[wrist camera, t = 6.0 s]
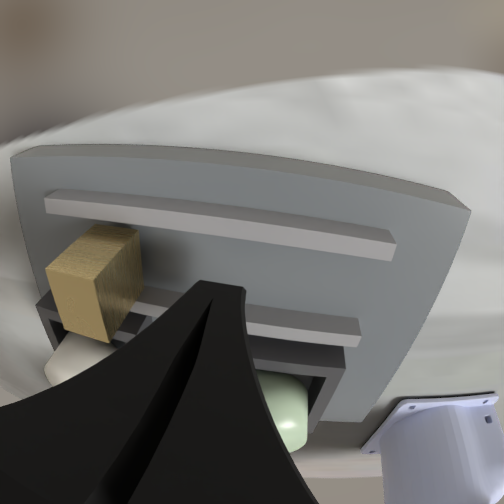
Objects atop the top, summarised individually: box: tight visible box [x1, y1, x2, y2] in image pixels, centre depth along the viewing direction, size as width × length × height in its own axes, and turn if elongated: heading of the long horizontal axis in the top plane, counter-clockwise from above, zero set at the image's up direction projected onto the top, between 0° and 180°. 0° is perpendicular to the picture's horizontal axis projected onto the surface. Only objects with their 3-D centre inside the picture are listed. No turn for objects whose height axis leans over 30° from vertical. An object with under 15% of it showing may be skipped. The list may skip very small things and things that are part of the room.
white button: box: [44, 331, 118, 387], centre depth 12 cm, size 4×4×2 cm
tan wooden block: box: [45, 224, 144, 343], centre depth 9 cm, size 2×2×3 cm
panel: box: [10, 144, 471, 433], centre depth 13 cm, size 18×13×4 cm
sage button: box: [256, 369, 308, 453], centre depth 12 cm, size 4×4×2 cm
